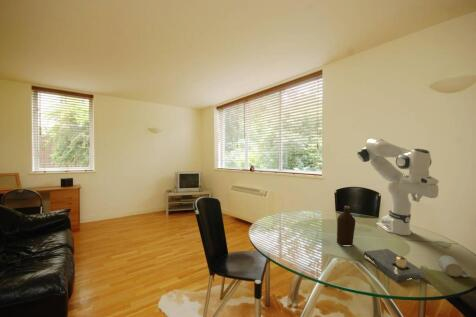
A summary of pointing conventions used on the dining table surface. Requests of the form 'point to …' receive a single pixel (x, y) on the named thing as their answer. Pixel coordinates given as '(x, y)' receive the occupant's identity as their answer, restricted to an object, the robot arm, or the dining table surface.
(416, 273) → the metal jig
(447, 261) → the ceramic mug
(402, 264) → the brass bushing
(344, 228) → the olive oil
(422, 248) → the dining table surface
